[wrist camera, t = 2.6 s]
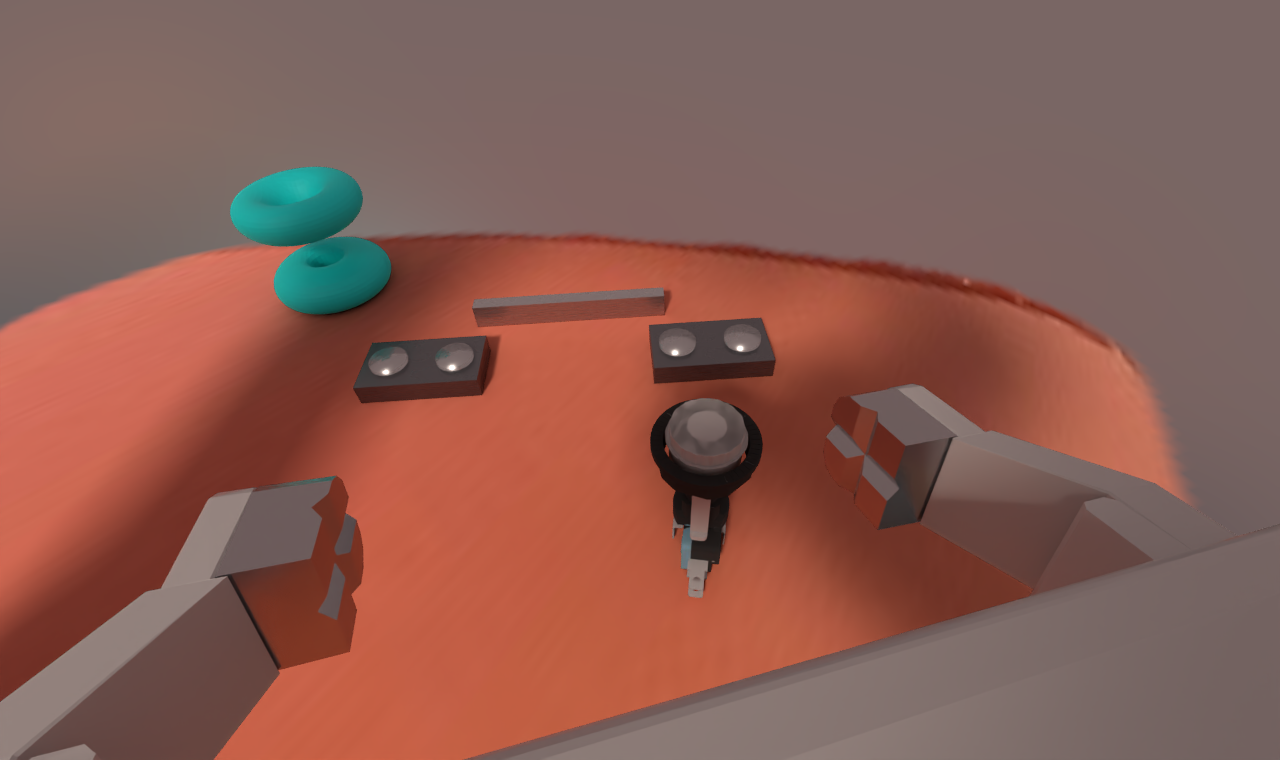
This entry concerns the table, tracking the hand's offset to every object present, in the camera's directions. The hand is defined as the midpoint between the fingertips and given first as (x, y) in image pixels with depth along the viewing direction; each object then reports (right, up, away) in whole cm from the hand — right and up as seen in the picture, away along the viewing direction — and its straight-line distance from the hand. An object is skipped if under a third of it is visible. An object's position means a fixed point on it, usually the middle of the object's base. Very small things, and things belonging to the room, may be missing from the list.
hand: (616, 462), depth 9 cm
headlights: (-5, +4, +36) cm, 37 cm away
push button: (+4, -8, +23) cm, 25 cm away
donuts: (-28, +10, +44) cm, 53 cm away
